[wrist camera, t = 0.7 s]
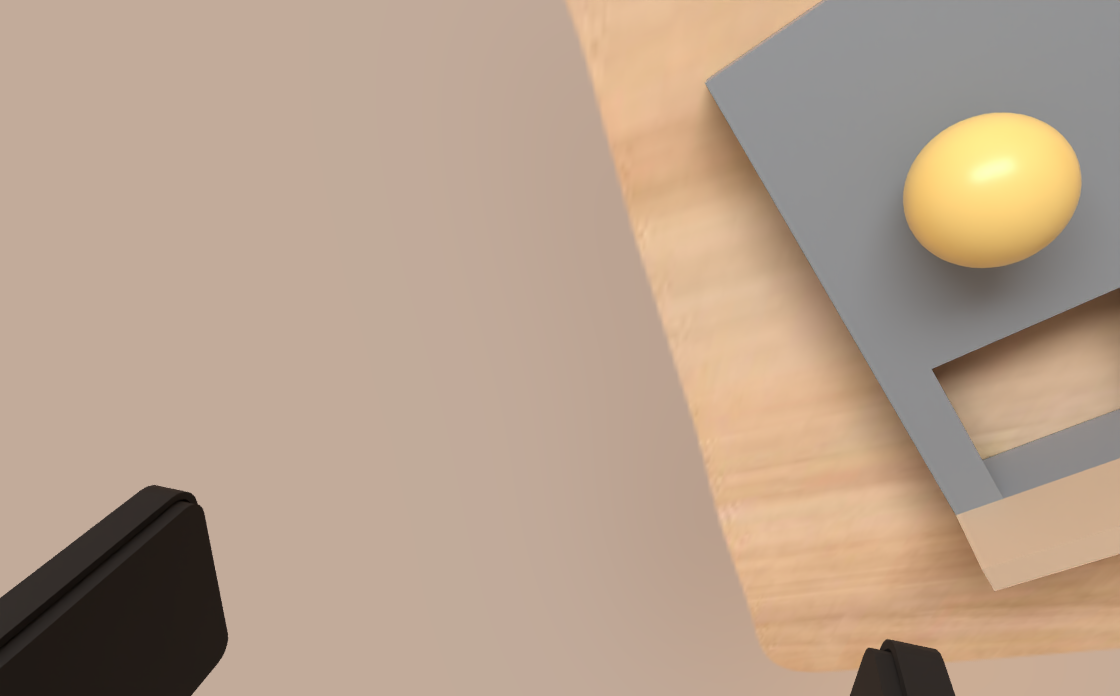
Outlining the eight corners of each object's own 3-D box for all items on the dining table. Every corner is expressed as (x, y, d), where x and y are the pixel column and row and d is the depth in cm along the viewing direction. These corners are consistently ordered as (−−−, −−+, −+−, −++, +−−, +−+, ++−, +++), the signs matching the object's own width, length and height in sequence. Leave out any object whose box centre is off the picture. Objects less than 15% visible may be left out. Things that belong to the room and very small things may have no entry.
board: (1017, -133, 24) (1111, -189, 18) (1254, 413, 29) (1386, 507, 23) (707, 79, 28) (702, 89, 23) (959, 515, 34) (1008, 614, 28)
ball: (1008, 75, 24) (1073, 84, 19) (1066, 199, 25) (1141, 235, 20) (865, 157, 26) (894, 183, 21) (925, 269, 27) (965, 315, 22)
